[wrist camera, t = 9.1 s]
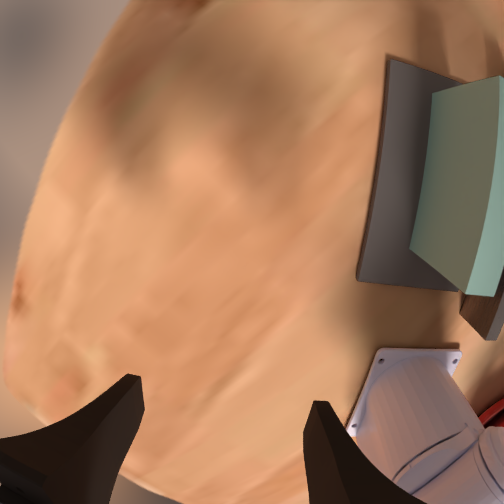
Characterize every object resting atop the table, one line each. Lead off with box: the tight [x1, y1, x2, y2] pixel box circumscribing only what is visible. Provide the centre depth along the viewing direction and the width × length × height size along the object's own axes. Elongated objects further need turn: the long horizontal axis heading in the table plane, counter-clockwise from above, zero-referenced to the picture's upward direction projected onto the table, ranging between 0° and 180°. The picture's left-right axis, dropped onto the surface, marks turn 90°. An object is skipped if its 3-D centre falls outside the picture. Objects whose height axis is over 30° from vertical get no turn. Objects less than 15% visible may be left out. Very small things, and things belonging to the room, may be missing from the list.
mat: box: [356, 59, 463, 292], centre depth 18 cm, size 14×8×1 cm, turn 173°
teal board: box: [409, 75, 504, 297], centre depth 14 cm, size 2×10×7 cm, turn 173°
